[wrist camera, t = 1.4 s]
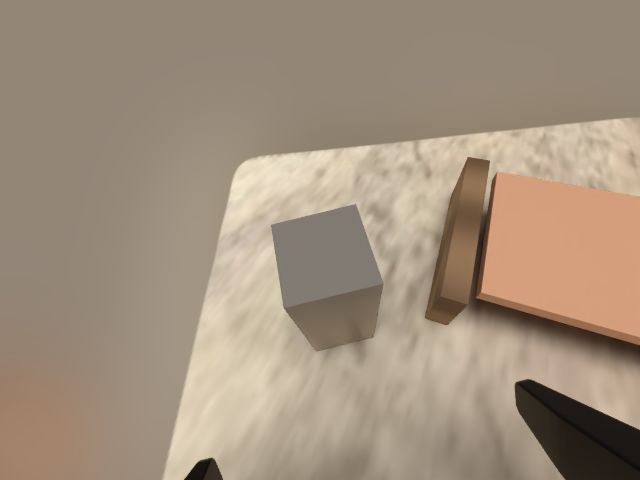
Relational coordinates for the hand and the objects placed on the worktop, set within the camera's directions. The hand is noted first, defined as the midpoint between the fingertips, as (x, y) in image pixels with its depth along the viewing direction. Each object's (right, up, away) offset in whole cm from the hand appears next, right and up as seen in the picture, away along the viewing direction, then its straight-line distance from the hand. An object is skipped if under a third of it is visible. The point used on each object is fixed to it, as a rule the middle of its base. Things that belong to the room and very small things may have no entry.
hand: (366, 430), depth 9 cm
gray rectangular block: (0, 0, +15) cm, 15 cm away
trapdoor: (+16, +3, +13) cm, 21 cm away
